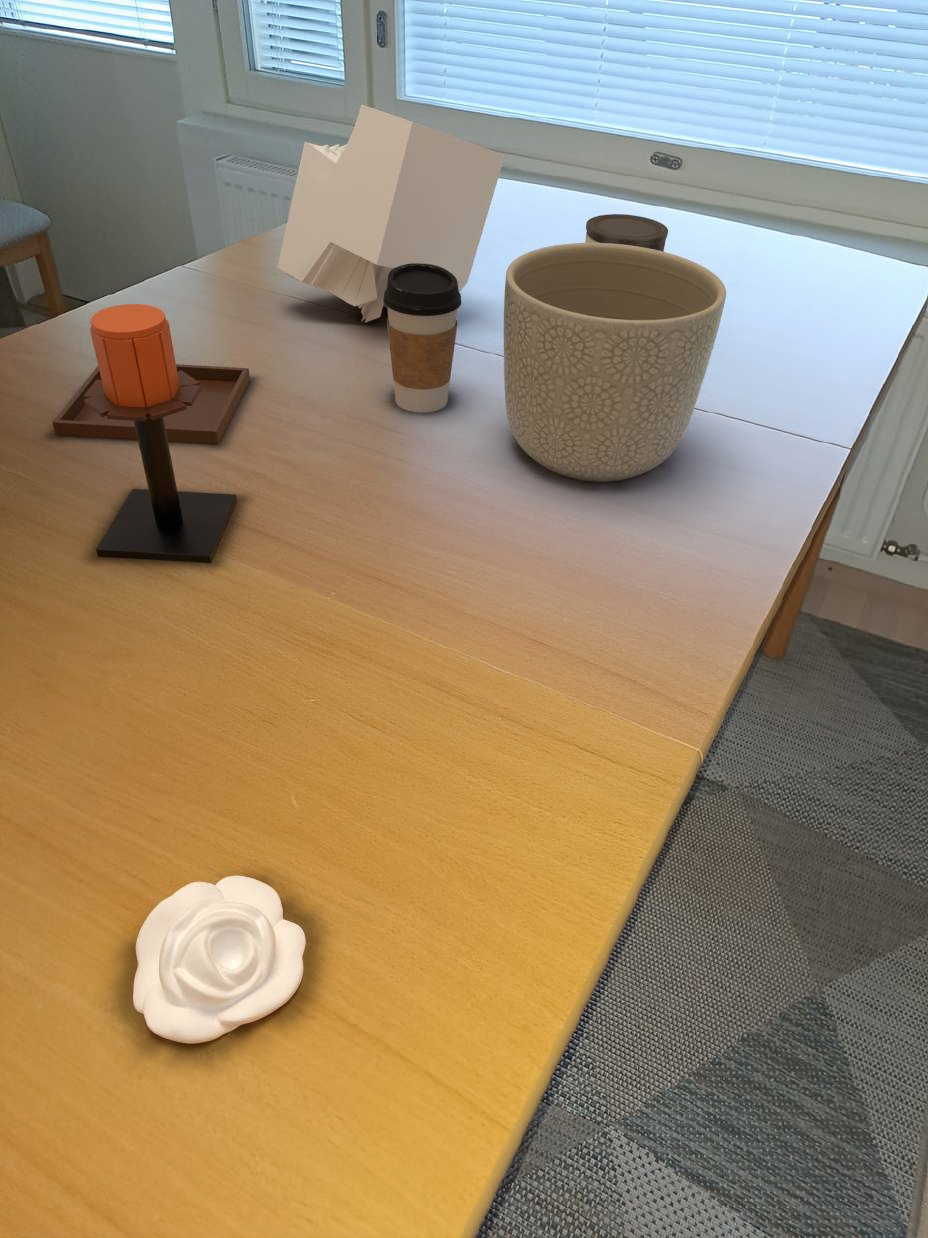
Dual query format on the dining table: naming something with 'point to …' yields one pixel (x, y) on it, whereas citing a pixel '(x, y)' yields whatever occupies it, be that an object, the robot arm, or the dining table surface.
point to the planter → (605, 355)
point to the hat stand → (166, 511)
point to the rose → (216, 959)
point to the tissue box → (386, 207)
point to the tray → (186, 426)
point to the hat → (137, 366)
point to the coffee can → (626, 231)
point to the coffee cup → (421, 333)
